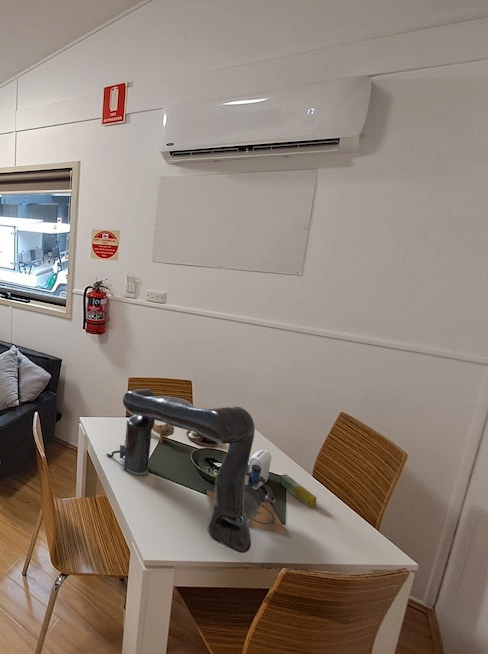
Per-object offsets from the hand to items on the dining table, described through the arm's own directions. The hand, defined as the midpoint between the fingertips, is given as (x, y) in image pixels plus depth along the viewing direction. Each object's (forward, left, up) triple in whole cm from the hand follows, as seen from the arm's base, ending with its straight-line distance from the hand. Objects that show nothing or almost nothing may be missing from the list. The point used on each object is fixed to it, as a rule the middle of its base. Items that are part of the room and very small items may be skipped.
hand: (256, 476), depth 128 cm
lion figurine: (-27, +34, -12) cm, 45 cm away
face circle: (0, -3, -11) cm, 12 cm away
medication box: (+17, +11, -12) cm, 24 cm away
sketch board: (-4, -4, -12) cm, 13 cm away
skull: (-8, +39, -12) cm, 41 cm away
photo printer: (+6, +15, -12) cm, 20 cm away
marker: (-1, -3, -7) cm, 7 cm away
